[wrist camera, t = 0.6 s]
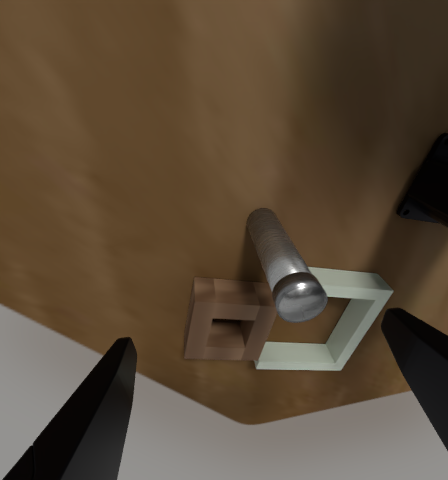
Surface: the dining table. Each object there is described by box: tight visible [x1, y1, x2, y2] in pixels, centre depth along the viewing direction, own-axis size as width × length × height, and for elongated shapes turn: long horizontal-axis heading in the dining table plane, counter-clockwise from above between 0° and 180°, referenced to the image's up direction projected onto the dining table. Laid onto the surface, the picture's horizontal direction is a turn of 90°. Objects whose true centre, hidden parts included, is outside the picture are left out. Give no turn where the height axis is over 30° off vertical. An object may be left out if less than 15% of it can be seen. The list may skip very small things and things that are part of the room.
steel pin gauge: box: [247, 208, 328, 323], centre depth 17 cm, size 3×3×9 cm
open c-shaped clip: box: [254, 267, 394, 371], centre depth 26 cm, size 10×11×2 cm
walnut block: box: [184, 277, 278, 361], centre depth 24 cm, size 7×7×3 cm
